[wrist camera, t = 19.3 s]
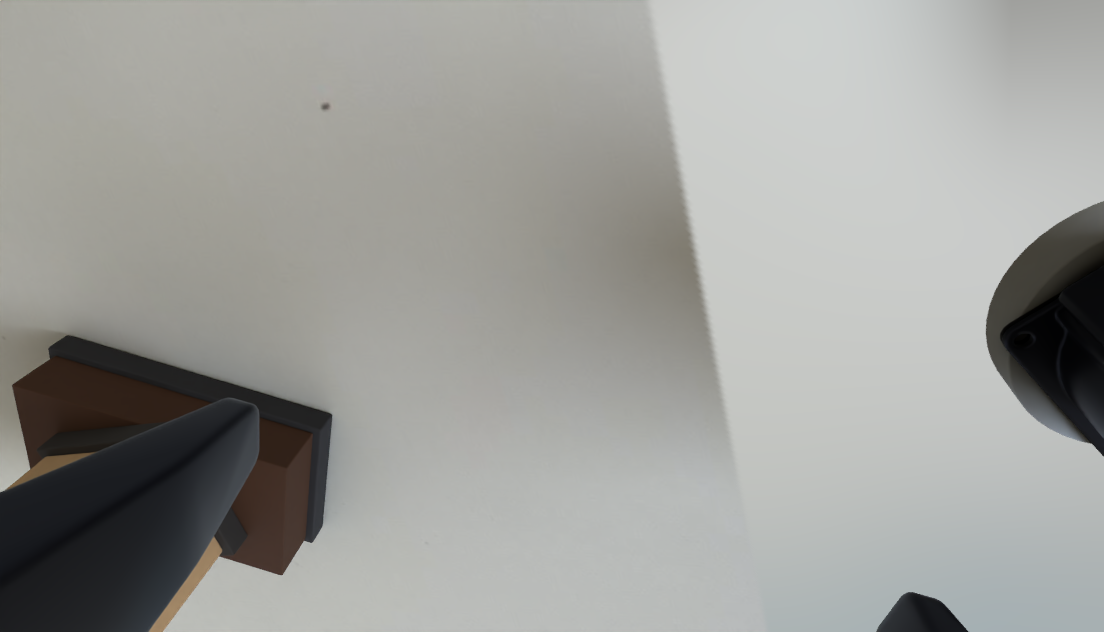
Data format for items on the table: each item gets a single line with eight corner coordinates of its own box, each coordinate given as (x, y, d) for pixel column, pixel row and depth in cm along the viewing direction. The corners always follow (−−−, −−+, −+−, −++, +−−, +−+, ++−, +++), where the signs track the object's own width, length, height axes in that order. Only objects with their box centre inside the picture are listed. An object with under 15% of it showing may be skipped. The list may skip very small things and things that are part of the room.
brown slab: (332, 414, 27) (295, 465, 24) (322, 526, 30) (289, 582, 27) (67, 334, 27) (2, 376, 24) (86, 453, 30) (30, 503, 28)
